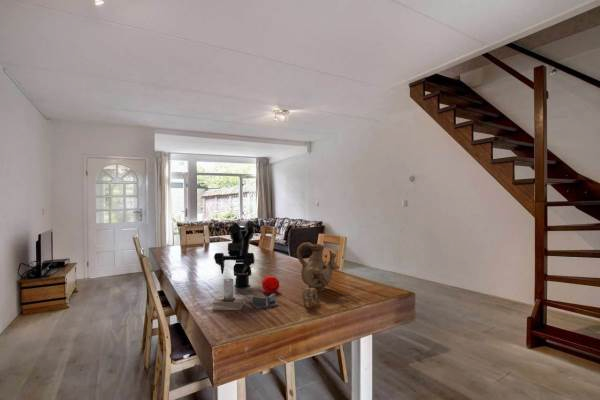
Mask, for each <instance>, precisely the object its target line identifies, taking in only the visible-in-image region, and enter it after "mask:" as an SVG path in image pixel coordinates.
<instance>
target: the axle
mask: <svg viewBox="0 0 600 400" xmlns="http://www.w3.org/2000/svg"><path fill="white" fill-rule="evenodd" d="M223 297H224V302H233V297H234V279H233V278H230V277H229V278H225V279H223Z"/></svg>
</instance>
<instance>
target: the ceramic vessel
mask: <svg viewBox="0 0 600 400" xmlns="http://www.w3.org/2000/svg"><path fill="white" fill-rule="evenodd" d="M324 247H325V245H324V244H319V243H314V244H313V243H312V242H309V241H307V242H302V243H300V245H299V246H298V247H297V249H296V258H297V260H298V261H299V263H300V264H301V265H302V267H301V269H300V276H301V279H302V282H303V283H304V284H305V285H307V286H308V288H310V289H311V288H315V289H316V291H317V293H318V291H319V292H322V291H324V290H325V289H326V288H325V287H326V286H328V285H329V284H330V283H331V281H332V277H333V271H335V270H338V269H340V266H339V265H338V264H337V263H336V261H335V259H336V257H337V254H336V253H333V251H331V250H329V251H328V252H329V261H328V262H327V263H325V262H324V260H323V252H324ZM305 248H309V249H310V250H311V255H309V259H308V260H307V261H308V262H307V261H305V259H304V258H303V256H302V252H303V249H305Z"/></svg>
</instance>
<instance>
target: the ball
mask: <svg viewBox="0 0 600 400" xmlns="http://www.w3.org/2000/svg"><path fill="white" fill-rule="evenodd" d="M261 282H262V283H261V286H262V289H263V291H265V292H266V293H267V294H276V292H278V290H279V289H280V280H279V279H278V278H276V276H274V275H270V276H269V275H267V276H265V278H263V280H262V281H261Z"/></svg>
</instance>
